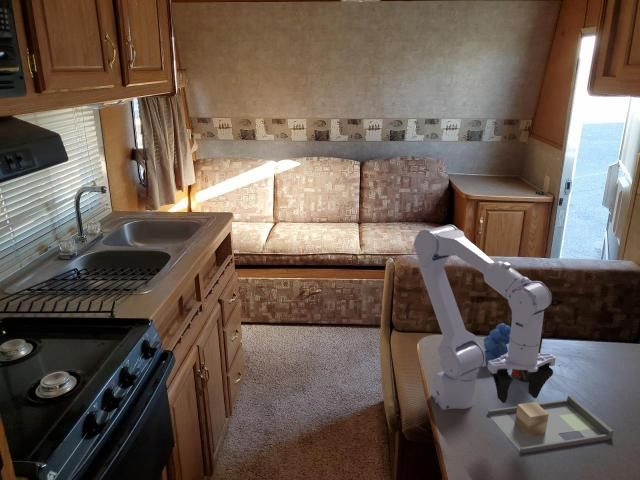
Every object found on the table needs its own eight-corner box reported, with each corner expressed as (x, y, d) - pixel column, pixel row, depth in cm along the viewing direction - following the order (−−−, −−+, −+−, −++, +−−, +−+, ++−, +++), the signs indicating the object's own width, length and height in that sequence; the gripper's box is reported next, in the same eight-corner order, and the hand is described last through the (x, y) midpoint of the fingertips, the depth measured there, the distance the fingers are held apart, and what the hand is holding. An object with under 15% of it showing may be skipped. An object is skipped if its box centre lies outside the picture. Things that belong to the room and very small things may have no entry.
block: (527, 436, 105) (530, 417, 104) (514, 423, 109) (517, 404, 108) (545, 433, 106) (548, 414, 105) (532, 420, 110) (535, 401, 109)
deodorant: (537, 388, 125) (546, 336, 120) (512, 385, 126) (520, 333, 122) (532, 376, 130) (540, 325, 126) (509, 373, 132) (516, 323, 127)
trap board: (520, 459, 101) (522, 445, 100) (486, 419, 113) (488, 406, 112) (610, 444, 105) (613, 430, 104) (568, 407, 117) (571, 395, 116)
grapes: (493, 350, 143) (498, 313, 139) (514, 360, 138) (519, 322, 134) (469, 363, 136) (473, 324, 132) (490, 374, 131) (495, 334, 127)
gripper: (504, 353, 95) (497, 413, 98) (569, 345, 98) (559, 404, 101) (484, 336, 101) (478, 393, 105) (545, 329, 104) (538, 385, 108)
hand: (517, 397), depth 104 cm, fingers open, 7 cm apart
